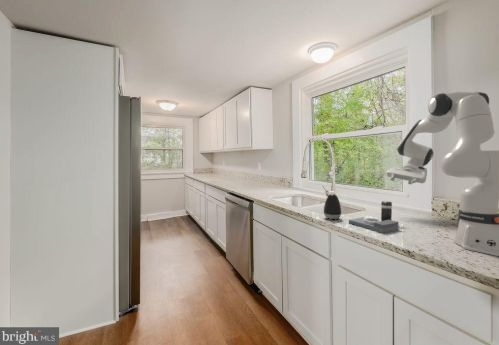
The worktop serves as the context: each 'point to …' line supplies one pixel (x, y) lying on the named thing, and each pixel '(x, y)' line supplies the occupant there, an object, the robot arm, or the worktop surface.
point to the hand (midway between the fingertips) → (400, 181)
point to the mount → (375, 224)
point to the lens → (386, 210)
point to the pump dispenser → (332, 207)
